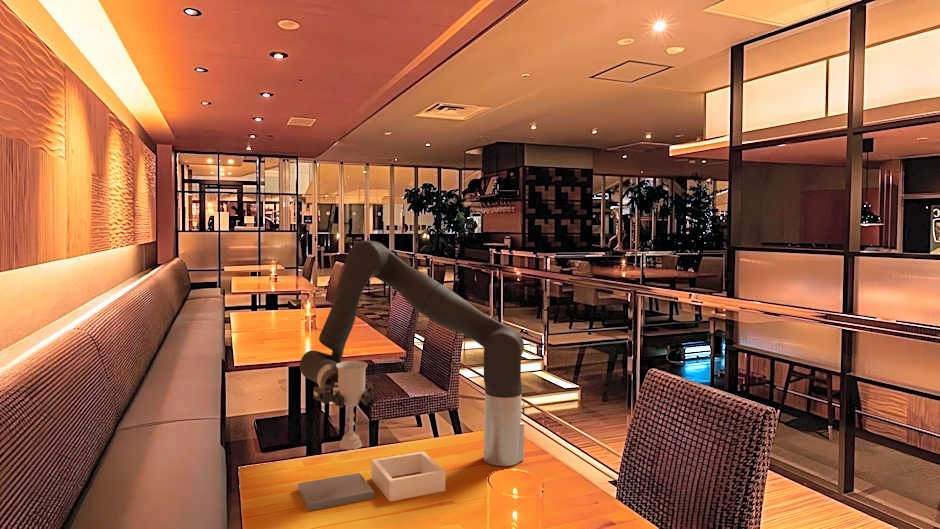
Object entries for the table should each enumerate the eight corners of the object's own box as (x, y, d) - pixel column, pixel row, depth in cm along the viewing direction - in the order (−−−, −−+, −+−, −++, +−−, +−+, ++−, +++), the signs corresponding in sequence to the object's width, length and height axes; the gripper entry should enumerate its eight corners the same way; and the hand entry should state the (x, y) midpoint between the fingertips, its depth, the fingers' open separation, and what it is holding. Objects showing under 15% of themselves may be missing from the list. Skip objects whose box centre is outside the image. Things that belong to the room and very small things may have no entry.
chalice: (358, 452, 130) (360, 370, 128) (329, 449, 131) (330, 367, 130) (371, 440, 137) (372, 362, 135) (343, 437, 138) (344, 359, 137)
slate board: (359, 479, 141) (359, 472, 141) (374, 498, 131) (374, 491, 131) (298, 489, 135) (297, 483, 135) (308, 511, 125) (308, 503, 125)
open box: (423, 469, 147) (423, 451, 147) (445, 490, 135) (445, 471, 135) (371, 478, 141) (371, 459, 141) (389, 501, 130) (390, 481, 129)
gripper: (305, 369, 143) (321, 387, 127) (365, 364, 149) (387, 381, 134) (305, 400, 143) (321, 422, 128) (364, 394, 149) (386, 414, 134)
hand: (354, 401), depth 131 cm, fingers closed on chalice, 4 cm apart
